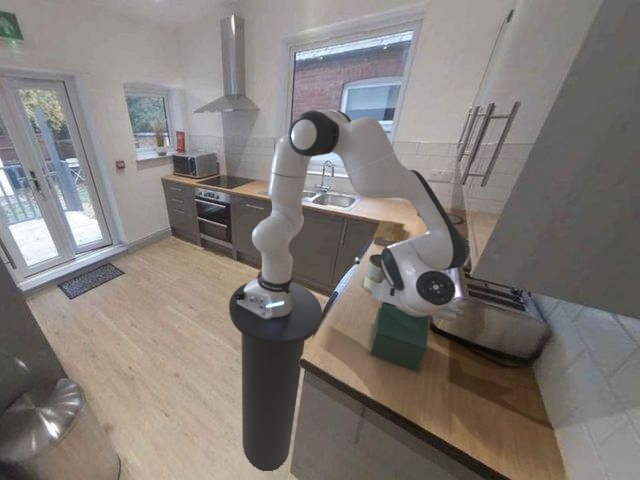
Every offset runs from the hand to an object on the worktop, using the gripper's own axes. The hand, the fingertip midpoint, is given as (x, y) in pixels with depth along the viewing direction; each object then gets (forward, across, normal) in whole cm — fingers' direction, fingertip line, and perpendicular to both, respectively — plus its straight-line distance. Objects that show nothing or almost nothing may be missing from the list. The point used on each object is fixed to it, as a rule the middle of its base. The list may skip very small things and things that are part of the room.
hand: (405, 306), depth 79 cm
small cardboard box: (+78, +4, -56) cm, 96 cm away
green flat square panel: (0, 0, +4) cm, 4 cm away
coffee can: (+33, +7, -11) cm, 35 cm away
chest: (+9, 0, +12) cm, 16 cm away
